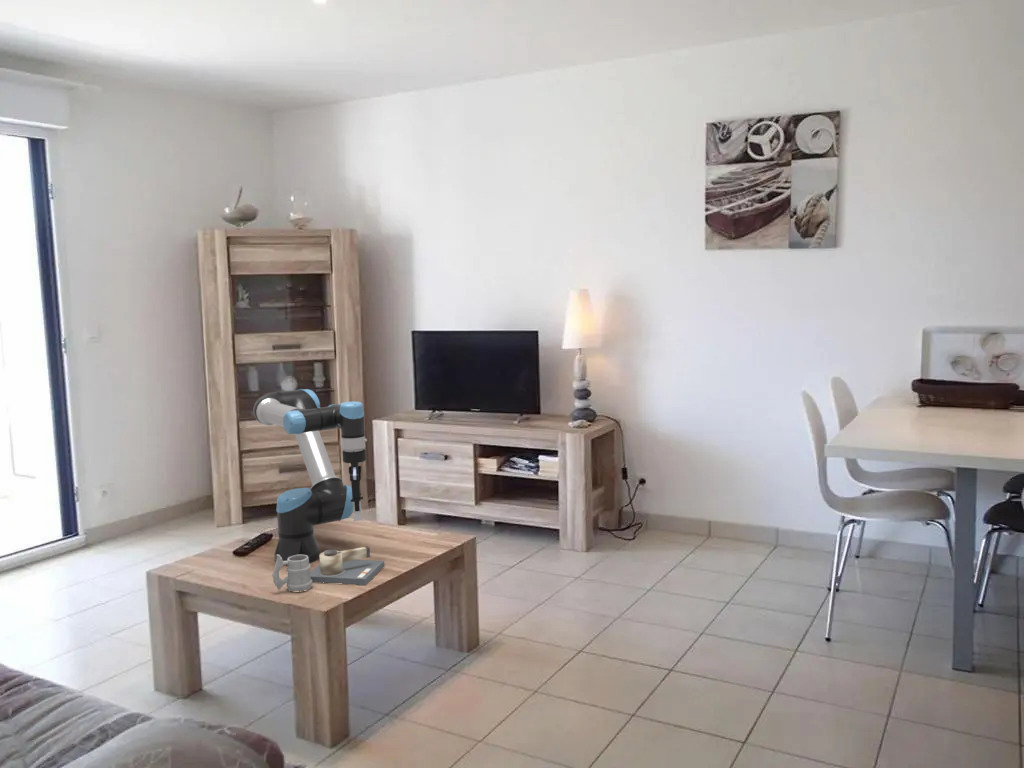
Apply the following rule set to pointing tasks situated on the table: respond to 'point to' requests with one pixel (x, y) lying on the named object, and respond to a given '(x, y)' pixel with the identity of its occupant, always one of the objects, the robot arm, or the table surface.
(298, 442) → the robot arm
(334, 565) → the lever
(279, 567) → the mug
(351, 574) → the grey base plate
